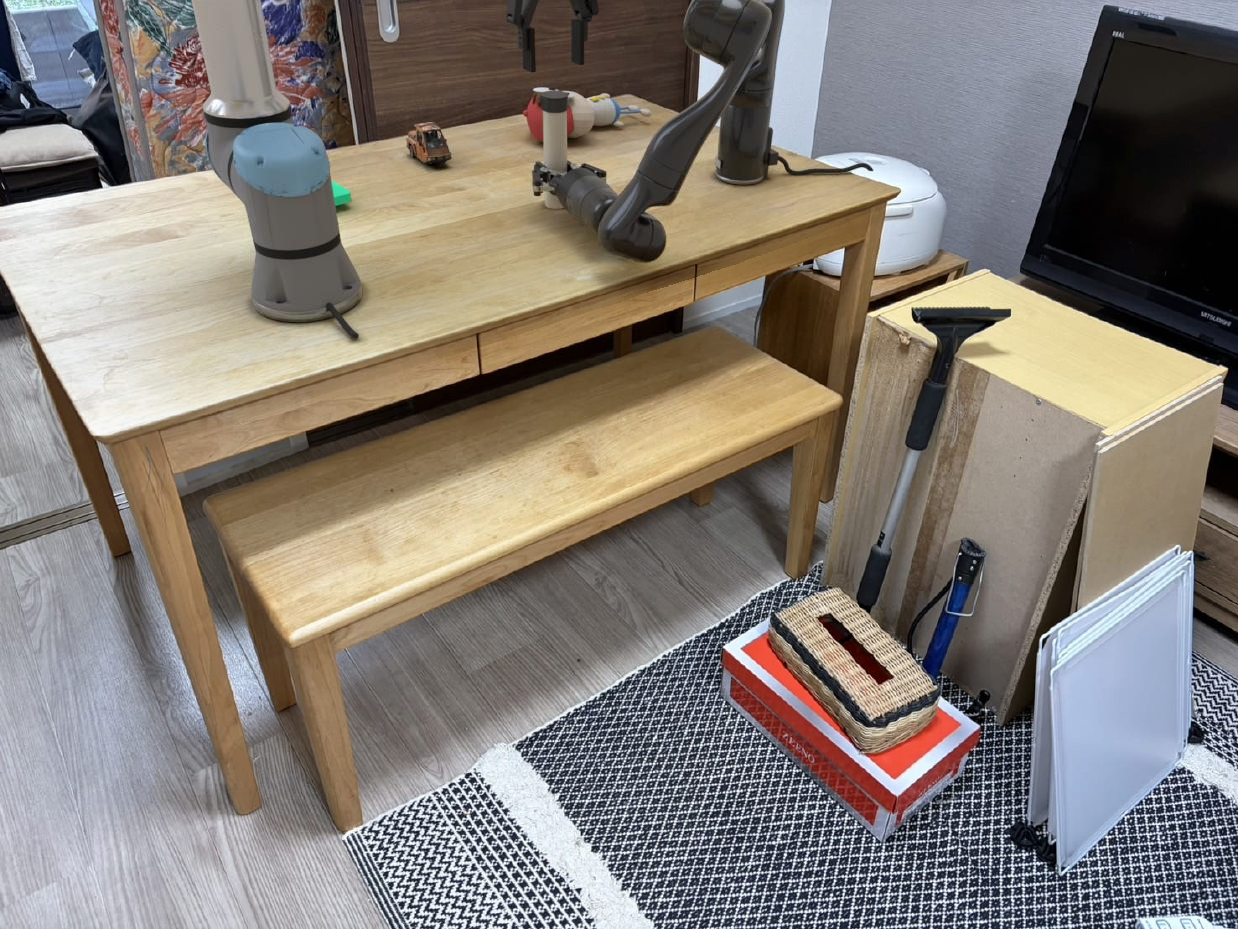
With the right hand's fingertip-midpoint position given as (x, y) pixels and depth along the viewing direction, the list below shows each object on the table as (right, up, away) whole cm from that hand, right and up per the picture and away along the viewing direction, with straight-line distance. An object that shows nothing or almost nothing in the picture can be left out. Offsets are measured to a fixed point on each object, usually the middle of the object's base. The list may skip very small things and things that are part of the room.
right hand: (549, 165), depth 165 cm
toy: (+5, +19, +36) cm, 41 cm away
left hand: (+2, +12, -12) cm, 18 cm away
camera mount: (-41, -7, -1) cm, 42 cm away
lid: (+1, +8, -9) cm, 13 cm away
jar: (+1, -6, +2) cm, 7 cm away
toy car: (-25, +7, +19) cm, 32 cm away
